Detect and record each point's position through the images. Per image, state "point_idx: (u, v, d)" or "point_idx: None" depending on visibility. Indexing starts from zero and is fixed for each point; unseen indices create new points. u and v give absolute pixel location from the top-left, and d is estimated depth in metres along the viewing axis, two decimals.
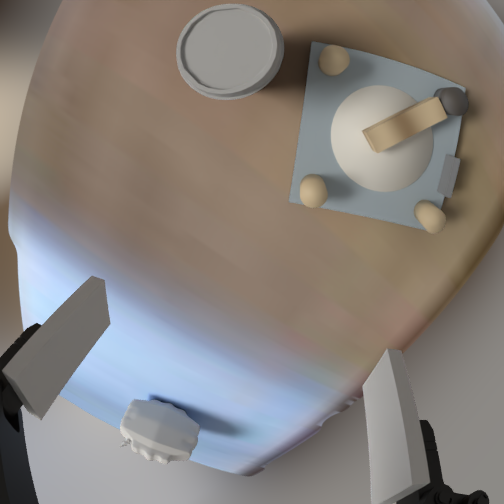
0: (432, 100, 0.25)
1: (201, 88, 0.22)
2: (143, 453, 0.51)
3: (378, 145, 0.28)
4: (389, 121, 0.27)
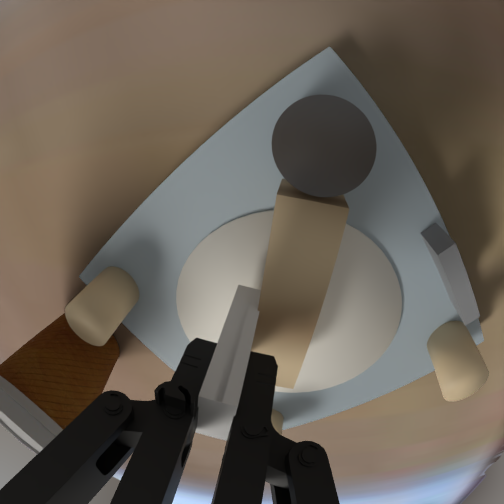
0: (276, 219, 0.11)
1: None
2: None
3: (282, 380, 0.14)
4: (254, 342, 0.14)
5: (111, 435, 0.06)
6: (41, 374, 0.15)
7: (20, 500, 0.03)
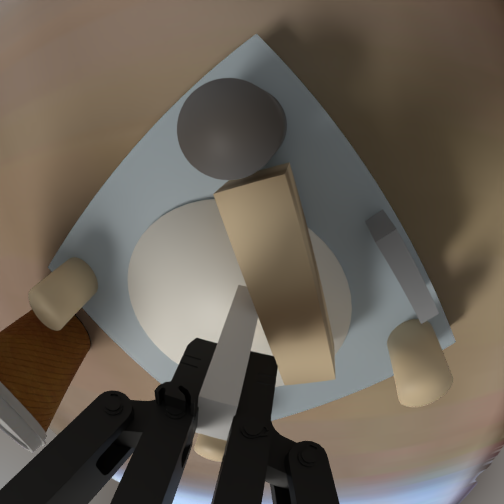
0: (224, 216, 0.11)
1: (25, 448, 0.14)
2: None
3: (319, 374, 0.13)
4: (271, 344, 0.13)
5: (111, 435, 0.06)
6: (11, 357, 0.15)
7: (20, 500, 0.03)
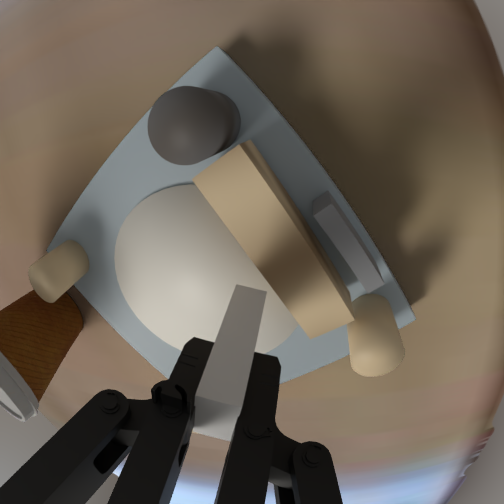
0: (205, 194, 0.13)
1: (19, 419, 0.16)
2: None
3: (337, 318, 0.14)
4: (282, 298, 0.14)
5: (108, 434, 0.06)
6: (10, 330, 0.17)
7: (18, 499, 0.03)
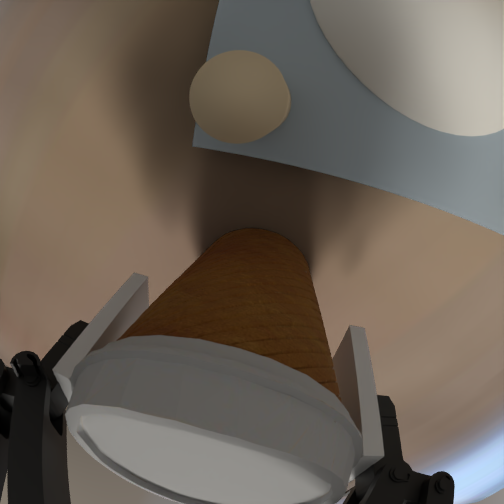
0: None
1: None
2: None
3: None
4: None
5: None
6: (196, 297, 0.09)
7: None
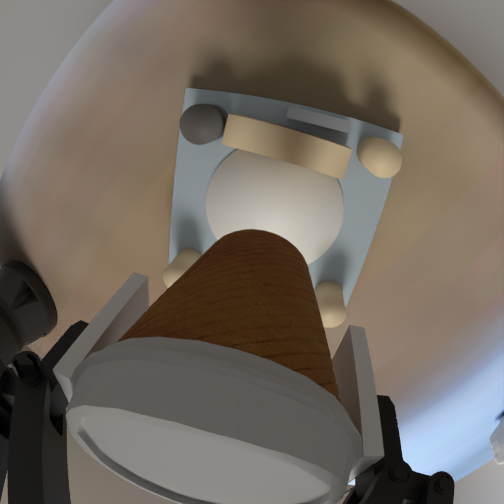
0: (232, 145, 0.23)
1: None
2: None
3: (343, 155, 0.22)
4: (307, 166, 0.23)
5: None
6: (196, 299, 0.09)
7: None
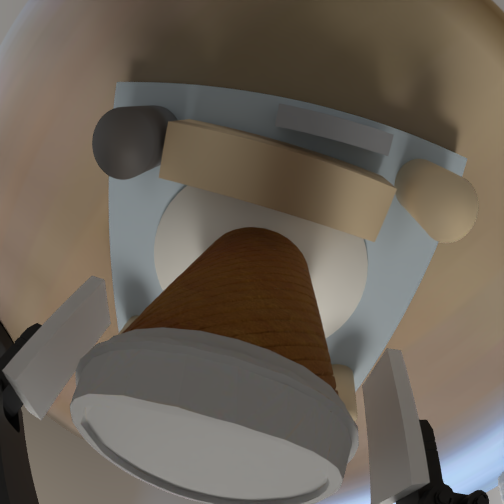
0: (177, 179, 0.13)
1: None
2: None
3: (379, 199, 0.12)
4: (313, 218, 0.12)
5: None
6: (198, 292, 0.09)
7: None
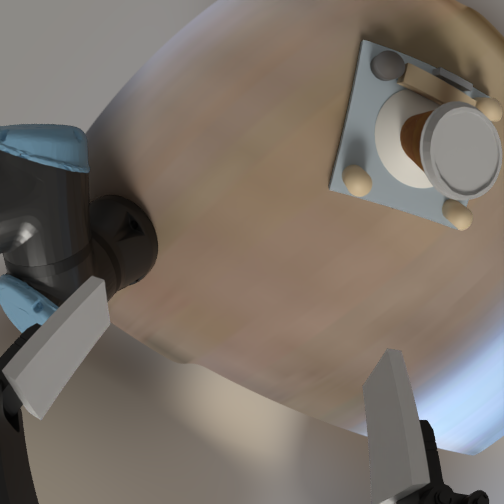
0: (410, 84, 0.25)
1: (493, 183, 0.20)
2: None
3: (472, 104, 0.24)
4: None
5: None
6: None
7: None
